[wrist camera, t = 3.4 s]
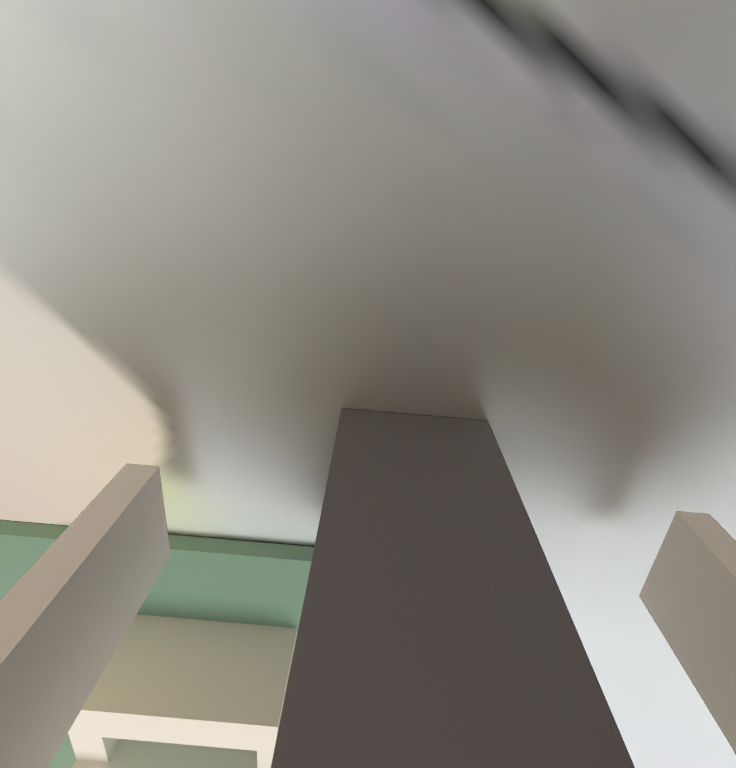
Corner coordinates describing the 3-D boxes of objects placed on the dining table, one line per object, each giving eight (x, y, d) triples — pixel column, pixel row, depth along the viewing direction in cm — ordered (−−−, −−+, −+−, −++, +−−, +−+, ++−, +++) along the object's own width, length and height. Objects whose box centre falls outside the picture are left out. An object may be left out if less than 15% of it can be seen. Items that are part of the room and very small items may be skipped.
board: (427, 556, 14) (439, 667, 11) (386, 795, 20) (386, 915, 17) (-74, 513, 14) (-210, 610, 11) (26, 764, 20) (-44, 877, 17)
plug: (488, 420, 12) (770, 1085, 3) (461, 549, 14) (591, 1199, 5) (342, 408, 12) (217, 1036, 3) (333, 537, 14) (241, 1168, 5)
